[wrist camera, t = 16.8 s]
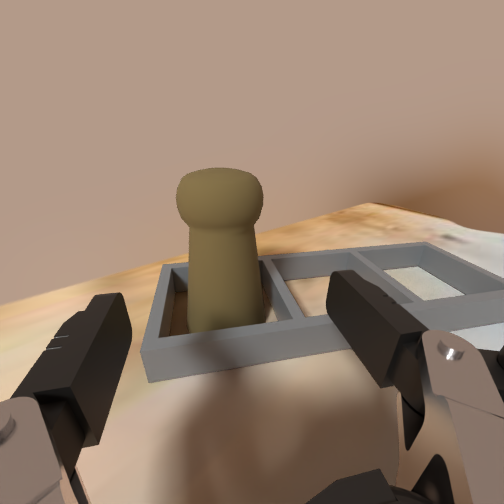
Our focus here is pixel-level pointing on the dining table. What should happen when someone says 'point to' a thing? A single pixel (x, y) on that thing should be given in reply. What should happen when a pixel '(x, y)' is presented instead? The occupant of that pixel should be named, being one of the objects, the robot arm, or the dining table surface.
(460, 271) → the frame
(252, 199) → the cork
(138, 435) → the dining table surface
